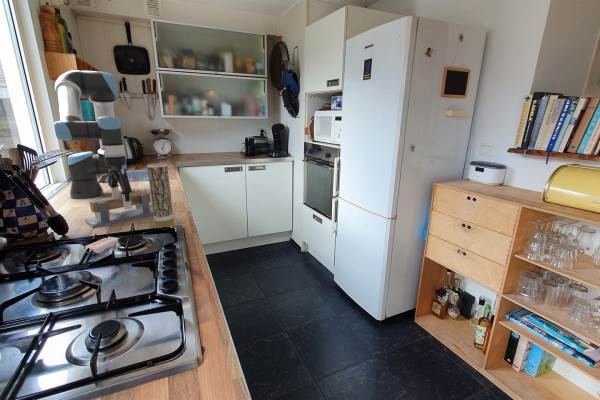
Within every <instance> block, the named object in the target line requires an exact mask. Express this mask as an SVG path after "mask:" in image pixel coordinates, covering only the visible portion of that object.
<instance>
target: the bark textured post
mask: <svg viewBox="0 0 600 400" xmlns="http://www.w3.org/2000/svg"><path fill="white" fill-rule="evenodd" d="M146 167H147V174H148V182H149V183H148V184H149V189H150V200H151V207H153V221H154V222H153V223H154V228H155V229H156V228H162V227H170V226H174V227H175V222H174V213H173V204H172V203H173V202H172V195H171V194H172V193H171V185H170V177H169V167H168V163H165V162H163V163H162V162H161V163H160V162H158V163H157V162H155V163H149V164H147V166H146Z"/></svg>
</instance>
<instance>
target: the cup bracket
mask: <svg viewBox="0 0 600 400" xmlns="http://www.w3.org/2000/svg"><path fill="white" fill-rule="evenodd" d="M137 193H143V192H142V191H138V192H137V191H136V192H133V194H137ZM100 199H102V198H95V199H92V201H94V200H100ZM140 199H141V204H138V205H135V209H130V210H129V209H128V210H125V211H120V212H119V211H118V212H116V213H115V212H114V213H110V210H109V211H108V205H107V202H100V203H98V208H99V212H96V213H94V215H95V217H90V218H85V219H84V220H85V223H86V224H88V225H89V226H90V227H91V228H92V229H93V228H98V227H103V226H107V225H112V224H116V223H121V222H126V221H130V220H135V219H138V218H143V217H144V218H145V217H148V216H152V215H153V207H152V206H151V205H150V202H149V198H148V195H141V196H140ZM153 216H154V215H153Z"/></svg>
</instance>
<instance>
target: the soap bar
mask: <svg viewBox="0 0 600 400" xmlns="http://www.w3.org/2000/svg"><path fill="white" fill-rule="evenodd" d="M107 237H108V238H106V237H105V238H104V237H103V238H102V239H98V240H97V241H94V242H92V243H90V244H87V245H85V246H84V251H85V252H86V249H88V248H89V249H91V250H93V251H94V252H96V253H97V252H100V251H102V250H104V249H106V248H108V247H110V246H112V245H114V244H115V243H116V242H117V241H118V239H119V237H112V236H107Z"/></svg>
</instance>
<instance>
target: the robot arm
mask: <svg viewBox="0 0 600 400" xmlns="http://www.w3.org/2000/svg"><path fill="white" fill-rule="evenodd" d="M54 91H55V93H56V94H57V96H58V104H59V117H60V120H57V121H55V122H54V123H53V128H54V132H55V136H56V139H57V140H58V141H72V142H73V141H85V140H86V141H87V140H88V141H90V140H91V141H93V140H94V141H95V140H96V141H97V140H98V141H99V142H98V143H99V147H100V148H99V149H98V150H97V153H94V152H93V151H82V152H77V153H73V154H70V155H68V156H67V166H68V169H69V174H70V179H71V180H70V181H71V187H70V192H69V196H70V198H71V199H90V198H94V197H95V196H96V197H100V196H103V195H104V194H103V193H104V189H103V187H102V185H101V184H100V182H99V180H98V176H106V175H108V183H107V184H108V186H109V188H110V191H111V198H112V197H118V196H120V194H121V196H122V197H123V203H124V207H123V208H124V210H129V209H130V210H131V209H132V208H133V206H132V204H131V197H130V195H131V193H132V192H133V190H132V187H131V184H130V181H129V178H128V175H127V154H126V151H125V144H124V138H123V132H122V131H123V130H122V124H121V123H122V122H121V118H120V117H118V116H115V110H114V103H115V102H117V99H116V98H119V92H118V87H117V84H116V81H115V78H114V76H113V74H112V73H110V72H105V71H97V70H96V71H95V70H94V71H93V70H76V69H74V70H70V71H69V70H68V71H67V72H65V73H63V74H61V75H59V77H58V78H57V79H56V81H55V83H54ZM81 97H88V100H89V102H90V103H92V104H93V109H94V115H95V116H94V117H95V121H93V120H87V121H86V120H84V119H83V111H82V105H81ZM119 186H120V189H121V193H120V190H119ZM99 195H100V196H99Z"/></svg>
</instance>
